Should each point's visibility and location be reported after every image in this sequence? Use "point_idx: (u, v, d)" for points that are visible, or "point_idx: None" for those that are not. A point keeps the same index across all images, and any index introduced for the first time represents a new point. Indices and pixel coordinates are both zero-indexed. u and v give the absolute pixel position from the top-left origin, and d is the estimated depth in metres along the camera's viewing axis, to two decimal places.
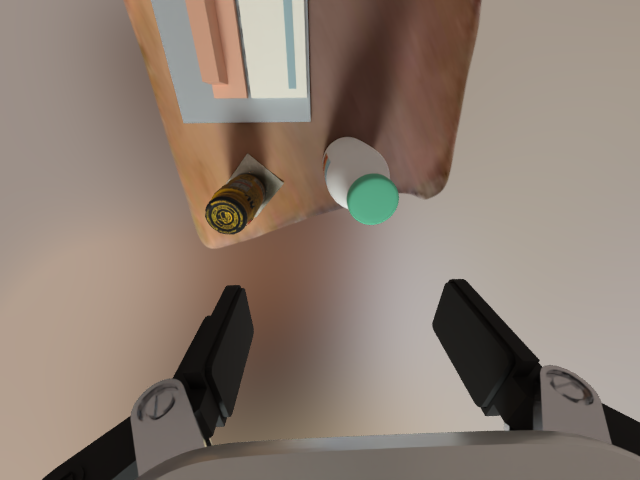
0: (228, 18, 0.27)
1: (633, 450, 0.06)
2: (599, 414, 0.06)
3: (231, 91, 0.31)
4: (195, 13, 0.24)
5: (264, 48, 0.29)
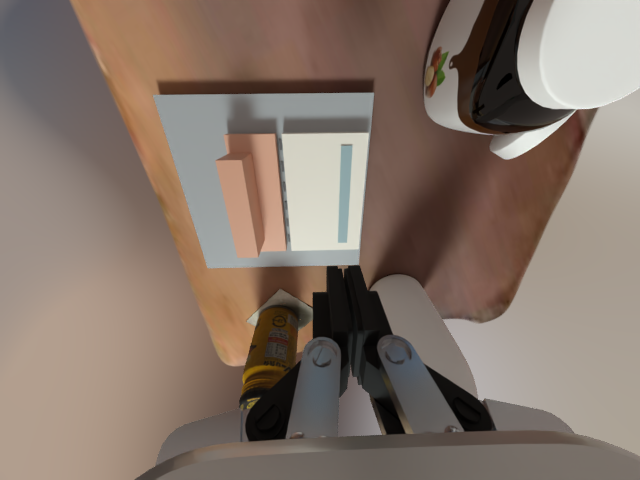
0: (270, 179, 0.22)
1: None
2: (417, 358, 0.07)
3: (268, 245, 0.25)
4: (233, 197, 0.19)
5: (312, 206, 0.23)
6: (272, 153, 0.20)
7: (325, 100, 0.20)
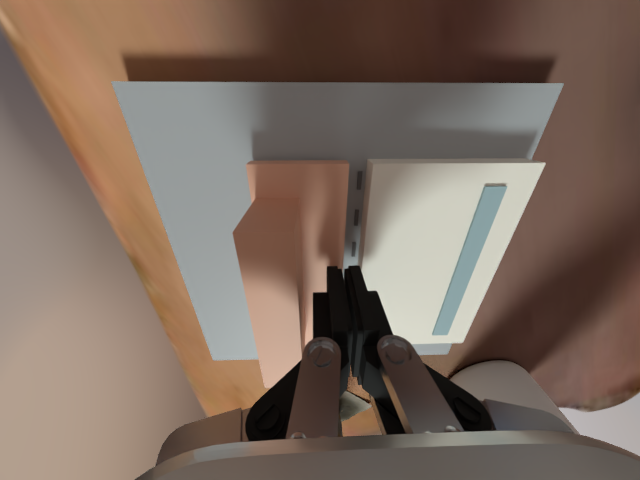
0: (327, 243, 0.12)
1: None
2: (417, 358, 0.07)
3: (309, 339, 0.15)
4: (267, 299, 0.09)
5: (402, 284, 0.13)
6: (340, 199, 0.10)
7: (463, 97, 0.10)
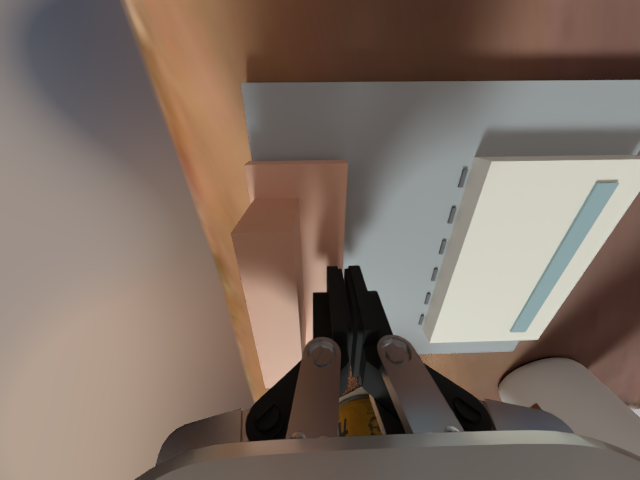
0: (327, 243, 0.12)
1: None
2: (417, 358, 0.07)
3: (310, 339, 0.15)
4: (267, 299, 0.09)
5: (491, 281, 0.13)
6: (339, 198, 0.10)
7: (581, 95, 0.10)
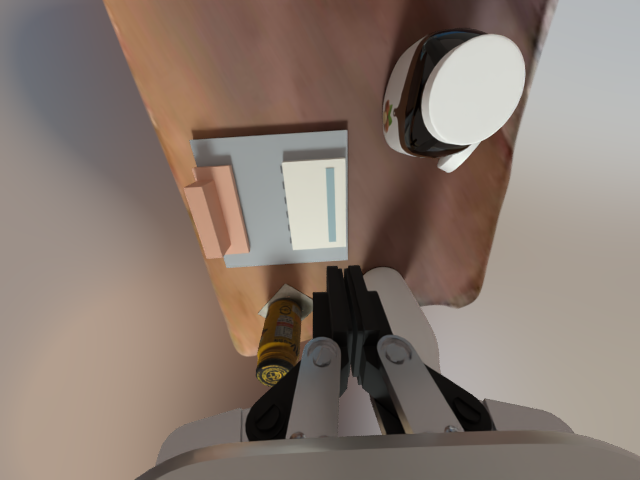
0: (229, 198, 0.29)
1: None
2: (417, 358, 0.07)
3: (234, 249, 0.32)
4: (199, 213, 0.26)
5: (307, 214, 0.30)
6: (229, 179, 0.28)
7: (312, 137, 0.27)
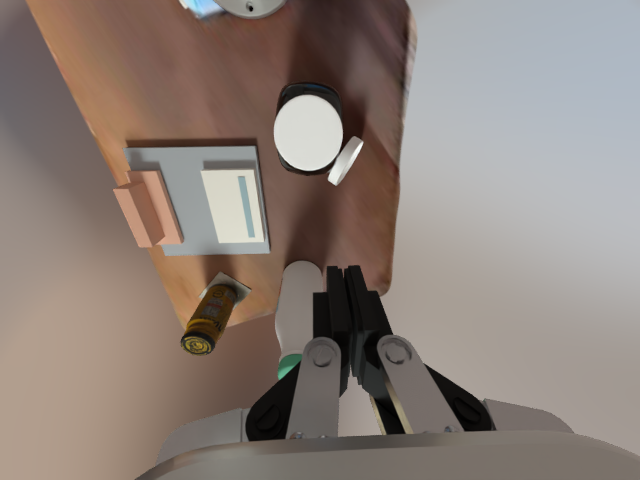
0: (159, 198, 0.35)
1: None
2: (417, 358, 0.07)
3: (168, 240, 0.38)
4: (128, 209, 0.32)
5: (227, 213, 0.36)
6: (157, 182, 0.33)
7: (226, 150, 0.33)
